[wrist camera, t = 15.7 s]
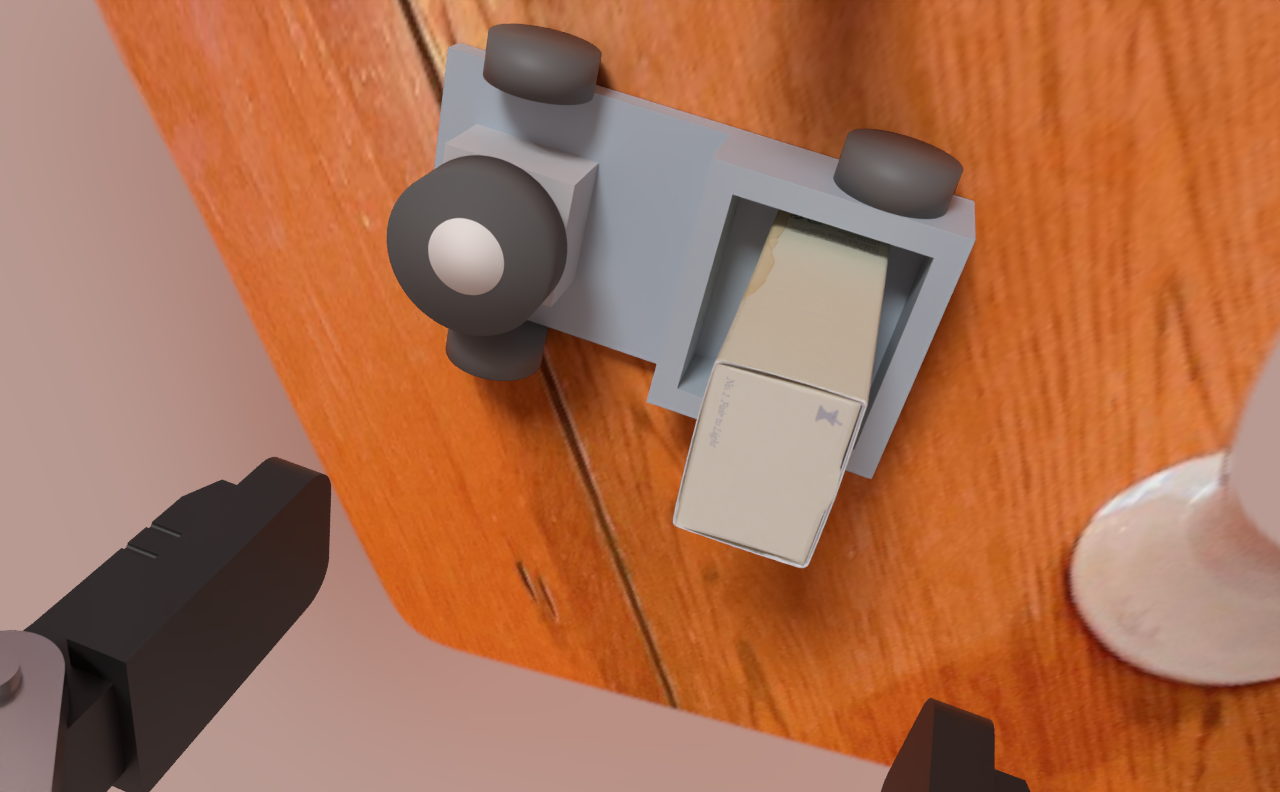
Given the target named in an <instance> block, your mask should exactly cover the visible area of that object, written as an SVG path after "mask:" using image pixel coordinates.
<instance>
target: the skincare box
mask: <svg viewBox="0 0 1280 792" xmlns="http://www.w3.org/2000/svg"><path fill="white" fill-rule="evenodd" d="M890 245H891V244H888V243H885V242H882V241H878V240H875V239H872V238H869V237H866V236H863V235H859V234H856V233H853V232H850V231H847V230H844V229H840V228H837V227H834V226H831V225H828V224H825V223H821V222H818V221H815V220H812V219H809V218H806V217H802V216H799V215H796V214H793V213H790V212H787V211H783V210H780V209H779V211H778V213H777V215H776V217H775V220H774V222H773V225H772V228H771V230H770V232H769V235H768V237H767V240H766V242H765V245H764V247H763V250H762V252H761V255H760V258H759V260H758V263H757V265H756V268H755V270H754V273H753V275H752V277H751V280H750V282H749V284H748V287H747V289H746V292H745V294H744V296H743V299H742V301H741V303H740V306H739V308H738V311H737V313H736V315H735V318H734V320H733V323H732V325H731V327H730V329H729V332H728V334H727V336H726V339H725V341H724V343H723V346H722V348H721V350H720V352H719V354H718V356H717V358H716V360H715V362H714V365H713V368H712V371H711V374H710V377H709V380H708V383H707V386H706V390H705V393H704V396H703V400H702V404H701V407H700V410H699V414H698V418H697V421H696V425H695V428H694V432H693V436H692V440H691V444H690V448H689V452H688V456H687V460H686V464H685V468H684V472H683V476H682V480H681V485H680V489H679V494H678V498H677V502H676V507H675V512H674V516H673V524H674V525H675V526H677V527H679V528H682V529H685V530H687V531H690V532H693V533H696V534H699V535H702V536H705V537H708V538H710V539H713V540H716V541H719V542H722V543H725V544H728V545H731V546H734V547H737V548H740V549H743V550H746V551H749V552H752V553H755V554H758V555H761V556H764V557H767V558H770V559H773V560H776V561H779V562H782V563H785V564H788V565H791V566H794V567H798V568H805V567H807V566H808V565H809V563H810V561H811V558H812V556H813V553H814V551H815V549H816V546H817V544H818V541H819V539H820V536H821V534H822V531H823V529H824V526H825V524H826V521H827V519H828V516H829V514H830V511H831V509H832V506H833V503H834V501H835V498H836V496H837V493H838V490H839V487H840V484H841V481H842V478H843V476H844V473H845V470H846V467H847V465H848V462H849V459H850V456H851V453H852V450H853V447H854V444H855V441H856V438H857V435H858V432H859V429H860V426H861V423H862V420H863V417H864V414H865V411H866V409H867V406H868V401H869V393H870V387H871V380H872V372H873V365H874V359H875V351H876V344H877V337H878V330H879V323H880V315H881V308H882V301H883V295H884V288H885V280H886V273H887V265H888V258H889V251H890Z"/></svg>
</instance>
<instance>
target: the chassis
mask: <svg viewBox="0 0 1280 792" xmlns="http://www.w3.org/2000/svg"><path fill="white" fill-rule="evenodd" d="M600 61H601V51H600V50H599V49H598V48H597V47H596V46H594V45H593V44H591V43H589V42H588V41H585V40H583V39H581V38H579V37H576V36H573V35H571V34H568V33H565V32H561V31H557V30H553V29H549V28H544V27H539V26H533V25H524V24H500V25H496V26H493V27H491V28H490V29H489V31H488V39H487V46H486V51H485V50H482V49H478V48H475V47H472V46H469V45H465V44H462V43H458V44H455V45H453V46H451V47H448V54H447V62H446V71H445V80H444V89H443V97H442V106H441V115H440V123H439V132H438V141H437V150H436V158H435V167H434V169H436V168H437V167H439V166H440V165H442V164H444V163H446V162H448V161H450V160H452V159H455V158H458V157H463V156H469V155H483V156H491V157H495V158H499V159H502V160H505V161H507V162H510V163H512V164H514V165H516V166H518V167H519V168H521V169H523V170H524V171H525V172H527V173H528V174H530V175H531V176H532V177H533V178H534V179H535V180H537V181H538V182H539V183H540V184H541V185H542V187H543V188H544V189H545V190H546V191H547V192H548V194H549V195H550V197H551V198H552V200H553V201H554V203H555V205H556V206H557V208H558V210H559V212H560V215H561V217H562V220H563V223H564V227H565V230H566V236H567V260H566V265H565V269H564V272H563V275H562V277H561V279H560V281H559V283H558V284H557V286H556V288H555V289H554V290H553V291H552V292H551V294H550V295H549V296H548V297H547V298H546V299H545V301H544V302H543V303H542V304H541V305H540V306H539V307H538V309H537V310H536V311H535V312H534V313H533V314H532V315H531V317H530V318H529V319H527V320H526V321H525V322H524V323H523V324H521V325H520V326H518V327H516V328H515V329H513V330H510V331H508V332H505V333H501V334H497V335H490V336H475V335H469V334H464V333H460V332H457V331H454V330H452V329H449V328H448V335H447V343H446V353H447V356H448V358H449V359H450V361H451V362H452V363H453V364H454V365H455V366H457V367H458V368H459V369H461V370H463V371H465V372H467V373H469V374H471V375H474V376H477V377H480V378H484V379H489V380H496V381H513V380H519V379H523V378H526V377H529V376H530V375H532V374H534V373H535V372H536V371H537V370H538V369H539V367H540V365H541V362H542V356H543V351H544V346H545V341H546V336H547V327H550V328H552V329H555V330H558V331H561V332H564V333H567V334H570V335H573V336H576V337H579V338H582V339H585V340H588V341H591V342H594V343H597V344H600V345H603V346H606V347H608V348H611V349H614V350H617V351H620V352H623V353H626V354H629V355H632V356H635V357H638V358H641V359H644V360H647V361H650V362H653V363H656V364H657V365H656V368H655V372H654V376H653V379H652V383H651V387H650V391H649V394H648V398H647V402H648V403H651V404H654V405H657V406H660V407H663V408H666V409H668V410H671V411H674V412H677V413H680V414H683V415H686V416H689V417H692V418H695V419H697V418H698V414H699V410H700V407H701V404H702V400H703V396H704V393H705V390H706V386H707V383H708V380H709V377H710V374H711V371H712V368H713V365H714V362H715V360H716V358H717V356H718V354H719V352H720V350H721V348H722V346H723V343H724V341H725V339H726V336H727V334H728V332H729V329H730V327H731V325H732V323H733V320H734V318H735V315H736V313H737V311H738V308H739V306H740V303H741V301H742V299H743V296H744V294H745V292H746V289H747V287H748V284H749V282H750V280H751V277H752V275H753V273H754V270H755V268H756V265H757V263H758V260H759V258H760V255H761V252H762V250H763V247H764V245H765V242H766V240H767V237H768V235H769V232H770V230H771V228H772V225H773V222H774V220H775V217H776V215H777V213H778V211H779V209H780V210H783V211H787V212H790V213H793V214H796V215H799V216H802V217H806V218H809V219H812V220H815V221H818V222H821V223H825V224H828V225H831V226H834V227H837V228H840V229H844V230H847V231H850V232H853V233H856V234H859V235H863V236H866V237H869V238H872V239H875V240H878V241H882V242H885V243H888V244H891V245H890V251H889V258H888V265H887V273H886V280H885V288H884V295H883V301H882V308H881V315H880V323H879V330H878V337H877V344H876V351H875V359H874V365H873V372H872V380H871V387H870V393H869V401H868V406H867V409H866V411H865V414H864V417H863V420H862V423H861V426H860V429H859V432H858V435H857V438H856V441H855V444H854V447H853V450H852V453H851V456H850V459H849V462H848V465H847V467H846V470H845V471H848V472H851V473H854V474H857V475H860V476H863V477H866V478H869V479H872V477H873V475H874V472H875V470H876V468H877V465H878V463H879V461H880V458H881V456H882V454H883V452H884V449H885V447H886V445H887V442H888V440H889V438H890V435H891V433H892V431H893V429H894V426H895V424H896V422H897V419H898V417H899V415H900V412H901V410H902V408H903V406H904V403H905V401H906V399H907V396H908V394H909V392H910V390H911V387H912V385H913V383H914V380H915V378H916V376H917V373H918V371H919V369H920V367H921V364H922V362H923V360H924V357H925V355H926V353H927V350H928V348H929V346H930V344H931V341H932V339H933V337H934V334H935V332H936V330H937V327H938V325H939V323H940V321H941V318H942V316H943V314H944V311H945V309H946V307H947V304H948V302H949V300H950V298H951V295H952V293H953V291H954V288H955V286H956V284H957V282H958V279H959V277H960V275H961V272H962V270H963V268H964V265H965V263H966V261H967V259H968V256H969V254H970V252H971V249H972V247H973V245H974V242H975V240H976V238H975V203H974V201H972V200H969V199H966V198H962V197H959V196H956V195H953V194H954V192H955V189H956V187H957V185H958V182H959V180H960V177H961V175H962V172H963V167H962V165H961V164H960V162H959V161H957V160H956V159H955V158H954V157H952V156H951V155H949V154H948V153H946V152H944V151H943V150H941V149H939V148H937V147H935V146H932V145H930V144H928V143H925V142H923V141H920V140H917V139H914V138H911V137H908V136H905V135H901V134H897V133H893V132H888V131H883V130H876V129H857V130H853V131H851V132H849V133H848V135H847V138H846V141H845V144H844V147H843V150H842V153H841V156H840V159H836V158H832V157H829V156H826V155H823V154H819V153H816V152H813V151H810V150H806V149H803V148H800V147H797V146H793V145H790V144H787V143H784V142H780V141H777V140H774V139H771V138H767V137H764V136H761V135H758V134H754V133H751V132H748V131H745V130H741V129H738V128H735V127H732V126H728V125H725V124H722V123H719V122H715V121H712V120H709V119H706V118H702V117H699V116H696V115H693V114H689V113H686V112H683V111H680V110H676V109H673V108H670V107H667V106H663V105H660V104H657V103H654V102H650V101H647V100H644V99H641V98H637V97H634V96H631V95H628V94H624V93H621V92H618V91H615V90H612V89H608V88H605V87H602V86H599V85H596V81H597V76H598V71H599V66H600Z"/></svg>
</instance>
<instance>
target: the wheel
mask: <svg viewBox="0 0 1280 792" xmlns="http://www.w3.org/2000/svg"><path fill="white" fill-rule="evenodd" d="M387 248H388V254H389V259H390V263H391V266H392V269H393V271H394V274H395V276H396V278H397V280H398V282H399V284H400V285H401V287H402V289H403V290H404V292H405V293H406V294H407V296H408V297H409V298H410V300H411V301H412V302H413V303H414V304H415V305H416V306H417V307H418V308H419V309H420V310H421V311H422V312H423V313H425V314H426V315H427V316H428V317H430V318H431V319H433V320H434V321H436V322H437V323H439V324H441V325H443V326H445V327H447V328H449V329H452V330H454V331H457V332H460V333H464V334H469V335H475V336H490V335H497V334H501V333H505V332H508V331H510V330H513V329H515V328H516V327H518V326H520V325H521V324H523V323H524V322H525V321H526V320H527V319H529V318H530V317H531V315H532V314H533V313H534V312H535V311H536V310H537V309H538V307H539V306H540V305H541V304H542V303H543V302H544V301H545V299H546V298H547V297H548V296H549V295H550V294H551V292H552V291H553V290H554V289H555V288H556V286H557V284H558V283H559V281H560V279H561V277H562V275H563V272H564V269H565V265H566V260H567V236H566V230H565V227H564V223H563V220H562V217H561V215H560V212H559V210H558V208H557V206H556V205H555V203H554V201H553V200H552V198H551V197H550V195H549V194H548V192H547V191H546V190H545V189H544V188H543V187H542V185H541V184H540V183H539V182H538V181H537V180H535V179H534V178H533V177H532V176H531V175H530V174H528V173H527V172H525V171H524V170H523V169H521V168H519V167H518V166H516V165H514V164H512V163H510V162H507V161H505V160H502V159H499V158H495V157H491V156H483V155H469V156H463V157H458V158H455V159H452V160H450V161H448V162H446V163H444V164H442V165H440V166H439V167H437V168H436V169H434V170H433V171H431V172H430V173H428V174H427V175H425V176H424V177H422V178H421V179H419V180H418V181H416V182H415V183H413V184H412V185H411V186H409V187H408V188H407V189H406V190H405V191H404V192H403V193H402V194H401V196H400V197H399V199H398V200H397V201H396V203H395V205H394V207H393V209H392V211H391V215H390V218H389V221H388V228H387Z"/></svg>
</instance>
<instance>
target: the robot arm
mask: <svg viewBox="0 0 1280 792" xmlns="http://www.w3.org/2000/svg"><path fill="white" fill-rule="evenodd" d="M330 507H331V483H330V480H329V477H328V476H327V475H324V474H322V473H319V472H316V471H313V470H311V469H308V468H305V467H302V466H300V465H297V464H294V463H291V462H289V461H286V460H283V459H281V458H278V457H271V458H268V459H267V460H265V461H264V462H262V463H261V464H260V465H259V466H258V467H257V468H256V469H255V470H253V471H252V472H251V473H250V474H249V475H248V476H247V477H246V478H245V479H243V480H242V481H241V482H240V483H239V484H238V485H235V484H233V483H230V482H227V481H224V480H220V481H217V482H215V483H213V484H211V485H208V486H206V487H203V488H201V489H199V490H196V491H194V492H192V493H189V494H187V495H185V496H182V497H181V498H180V499H179V500H177V501H176V502H175V503H174V504H173V505H172V506H170V507H169V508H168V509H167V510H166V511H164V512H163V513H162V514H161V515H160V516H159V517H157V518H156V519H155V520H154V521H153V522H152V525H151V527H150V528H147V527H146V528H145V529H143V530H142V531H141V532H140V533H139V534H138V535H136V536H135V537H134V538H133V539H132V540H130V541H129V542H128V545H127V547H126V548H125V549H123V548H121V549H120V550H119V551H117V552H116V553H115V554H114V555H113V556H112V557H111V558H109V559H108V560H107V561H106V562H104V563H103V564H102V565H101V566H100V567H99V568H97V569H96V570H95V571H94V572H93V573H92V574H90V575H89V576H88V577H87V578H86V579H85V580H83V581H82V582H81V583H80V584H79V585H77V586H76V587H75V588H74V589H73V590H72V591H71V592H69V593H68V594H67V595H66V596H64V597H63V598H62V599H61V600H60V601H59V602H57V603H56V604H55V605H54V606H53V607H52V608H50V609H49V610H48V611H47V612H46V613H45V614H43V615H42V616H41V617H40V618H39V619H37V620H36V621H35V622H34V623H33V624H31V625H30V626H29V627H27V628H26V629H25V630H23V631H16V630H7V631H0V792H107V791H108V790H109V788H110V787H111V786H114V787H116V788H118V789H121V790H123V791H125V792H150V791H151V789H152V788H153V787H154V786H155V785H156V784H157V783H158V781H159V780H160V779H161V778H162V777H163V776H164V774H165V773H166V772H167V771H168V770H169V769H170V767H171V766H172V765H173V764H174V763H175V762H176V760H177V759H178V758H179V757H180V756H181V755H182V753H183V752H184V751H185V750H186V749H187V748H188V746H189V745H190V744H191V743H192V742H193V741H194V739H195V738H196V737H197V736H198V735H199V733H200V732H201V731H202V730H203V729H204V728H205V727H206V725H207V724H208V723H209V722H210V721H211V720H212V718H213V717H214V716H215V715H216V714H217V713H218V711H219V710H220V709H221V708H222V707H223V705H224V704H225V703H226V702H227V701H228V700H229V698H230V697H231V696H232V695H233V694H234V693H235V692H236V690H237V689H238V688H239V687H240V686H241V685H242V683H243V682H244V681H245V680H246V679H247V678H248V676H249V675H250V674H251V673H252V672H253V671H254V669H255V668H256V667H257V666H258V665H259V664H260V662H261V661H262V660H263V659H264V658H265V657H266V655H267V654H268V653H269V652H270V651H271V650H272V648H273V647H274V646H275V645H276V644H277V643H278V641H279V640H280V639H281V638H282V637H283V636H284V634H285V633H286V632H287V631H288V630H289V629H290V627H291V626H292V625H293V624H294V623H295V622H296V620H297V619H298V618H299V617H300V616H301V615H302V613H303V612H304V611H305V610H306V609H307V608H308V606H309V605H310V604H311V603H312V601H313V600H314V598H315V596H316V595H317V593H318V591H319V589H320V587H321V585H322V583H323V580H324V577H325V575H326V571H327V567H328V561H329V537H330ZM994 750H995V734H994V725H993V722H992V721H991V720H990V719H987V718H984V717H982V716H979V715H976V714H974V713H971V712H968V711H965V710H963V709H960V708H957V707H954V706H952V705H949V704H946V703H943V702H941V701H938V700H935V699H932V698H930V699H928V700H927V701H926V703H925V704H924V706H923V707H922V709H921V711H920V713H919V715H918V717H917V719H916V721H915V723H914V724H913V726H912V728H911V730H910V732H909V734H908V736H907V738H906V740H905V742H904V744H903V745H902V747H901V749H900V751H899V753H898V755H897V757H896V759H895V761H894V763H893V765H892V767H891V768H890V770H889V772H888V774H887V777H886V779H885V781H884V784H883V787H882V790H881V792H1030V790H1029V788H1028V785H1027V783H1026V781H1025V780H1022V779H1020V778H1017V777H1014V776H1012V775H1009V774H1006V773H1004V772H1001V771H998V770H995V769H994Z"/></svg>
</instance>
